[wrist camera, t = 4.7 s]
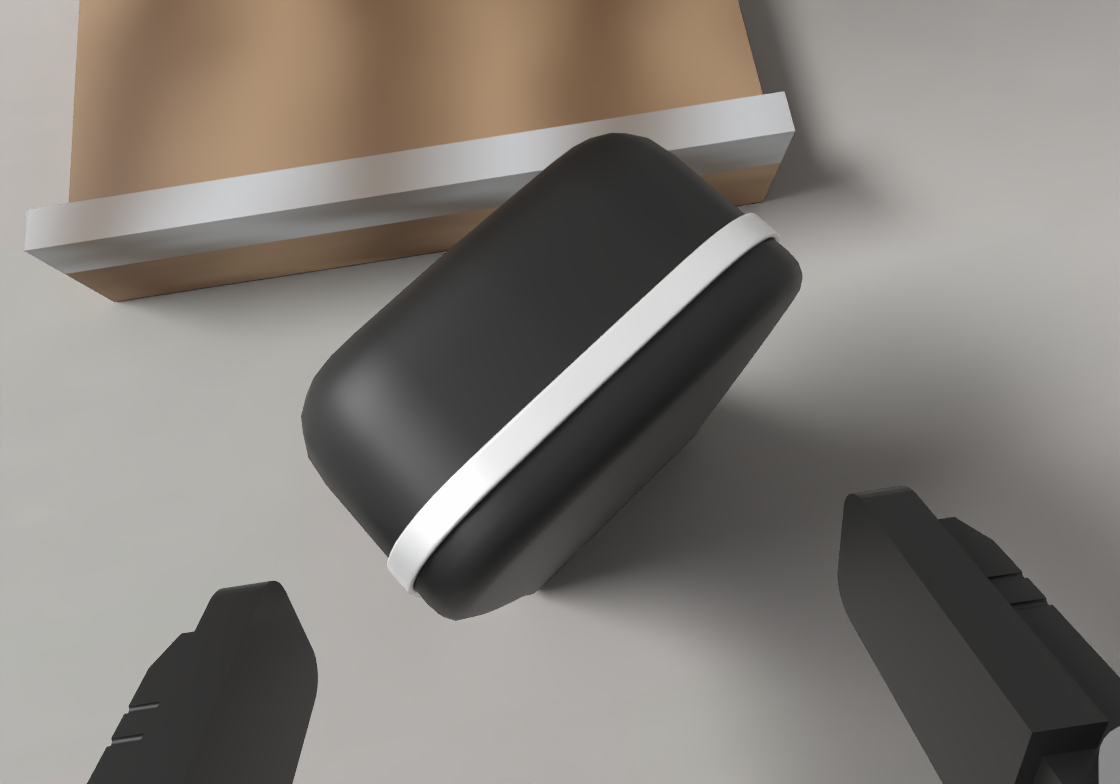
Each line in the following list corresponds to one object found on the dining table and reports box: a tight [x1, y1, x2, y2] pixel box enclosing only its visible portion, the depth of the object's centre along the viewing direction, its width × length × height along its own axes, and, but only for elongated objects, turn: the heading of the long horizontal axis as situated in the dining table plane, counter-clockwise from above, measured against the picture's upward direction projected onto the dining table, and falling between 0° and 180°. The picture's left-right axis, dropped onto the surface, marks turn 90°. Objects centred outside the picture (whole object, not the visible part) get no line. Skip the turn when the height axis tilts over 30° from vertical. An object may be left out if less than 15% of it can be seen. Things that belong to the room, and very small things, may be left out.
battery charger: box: [301, 133, 802, 621], centre depth 13 cm, size 7×4×11 cm, turn 134°
